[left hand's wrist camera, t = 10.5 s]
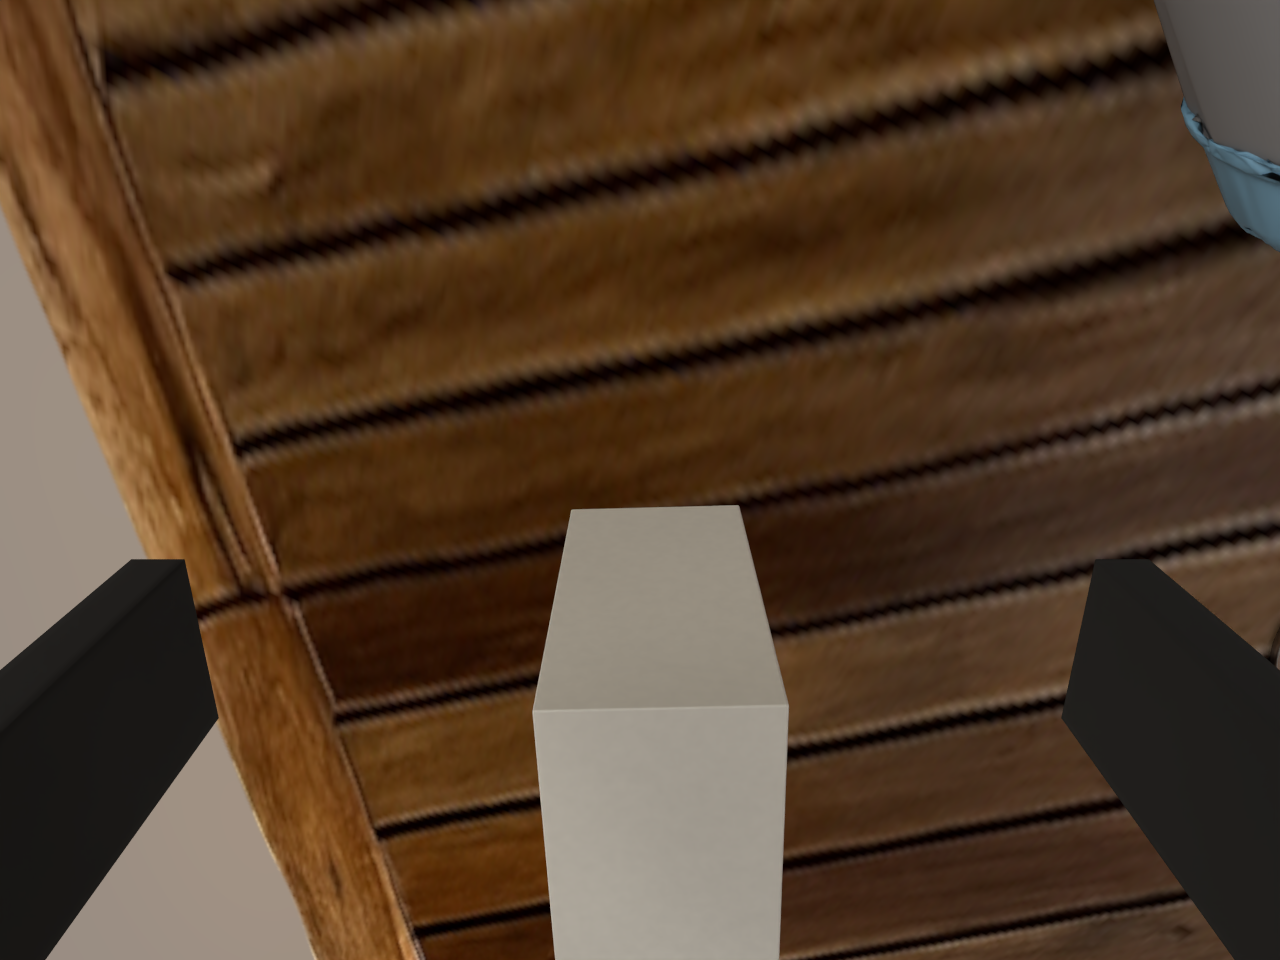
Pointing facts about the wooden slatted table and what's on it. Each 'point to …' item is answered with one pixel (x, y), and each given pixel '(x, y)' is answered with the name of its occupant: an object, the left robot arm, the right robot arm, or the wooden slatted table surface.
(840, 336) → the wooden slatted table surface
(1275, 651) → the right robot arm
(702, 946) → the box
